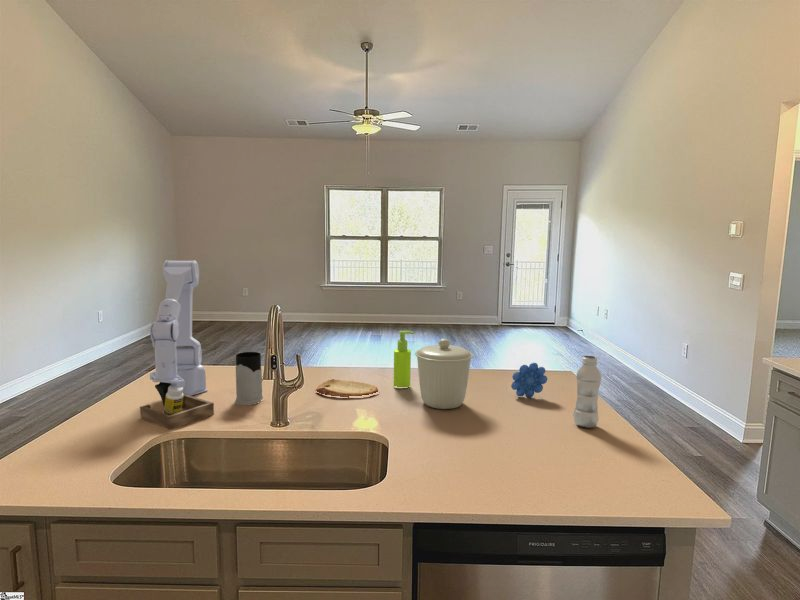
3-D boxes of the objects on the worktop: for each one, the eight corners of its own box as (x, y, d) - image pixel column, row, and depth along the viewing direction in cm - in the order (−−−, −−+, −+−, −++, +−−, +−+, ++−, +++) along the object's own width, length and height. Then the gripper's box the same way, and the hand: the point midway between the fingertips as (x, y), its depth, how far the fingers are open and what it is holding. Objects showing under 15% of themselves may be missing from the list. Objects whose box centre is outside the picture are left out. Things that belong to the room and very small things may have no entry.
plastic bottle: (579, 419, 144) (583, 353, 142) (602, 426, 139) (606, 357, 137) (568, 425, 140) (572, 356, 137) (592, 432, 135) (596, 361, 132)
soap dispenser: (413, 389, 171) (414, 332, 168) (393, 389, 171) (394, 332, 168) (413, 384, 177) (413, 329, 174) (393, 384, 177) (394, 329, 174)
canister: (443, 418, 144) (445, 348, 141) (402, 402, 157) (403, 337, 154) (483, 405, 156) (485, 340, 153) (441, 391, 169) (443, 331, 166)
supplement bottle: (172, 419, 141) (176, 393, 138) (159, 413, 142) (162, 387, 140) (184, 412, 145) (188, 387, 143) (172, 406, 146) (175, 381, 144)
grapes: (543, 394, 167) (545, 359, 166) (547, 400, 161) (549, 365, 159) (509, 392, 169) (510, 358, 167) (511, 399, 162) (513, 363, 160)
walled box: (185, 405, 152) (184, 394, 152) (213, 414, 145) (213, 402, 144) (140, 418, 141) (140, 406, 140) (169, 429, 133) (168, 417, 133)
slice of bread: (383, 395, 166) (384, 384, 165) (338, 406, 154) (338, 394, 154) (354, 382, 180) (354, 372, 179) (310, 391, 168) (310, 381, 168)
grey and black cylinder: (229, 402, 155) (227, 356, 153) (257, 390, 168) (256, 347, 166) (252, 406, 152) (250, 359, 150) (279, 393, 165) (278, 349, 163)
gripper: (138, 360, 144) (141, 405, 146) (167, 368, 136) (169, 416, 138) (161, 356, 150) (163, 399, 151) (190, 363, 142) (192, 408, 144)
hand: (168, 406), depth 145 cm, fingers closed, pressing on supplement bottle
